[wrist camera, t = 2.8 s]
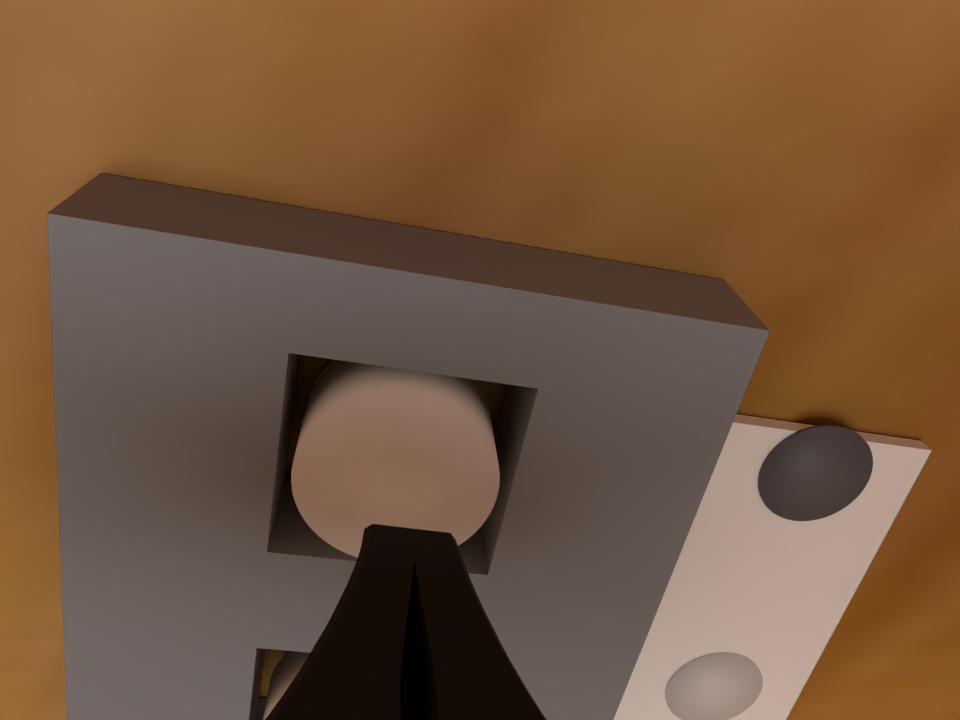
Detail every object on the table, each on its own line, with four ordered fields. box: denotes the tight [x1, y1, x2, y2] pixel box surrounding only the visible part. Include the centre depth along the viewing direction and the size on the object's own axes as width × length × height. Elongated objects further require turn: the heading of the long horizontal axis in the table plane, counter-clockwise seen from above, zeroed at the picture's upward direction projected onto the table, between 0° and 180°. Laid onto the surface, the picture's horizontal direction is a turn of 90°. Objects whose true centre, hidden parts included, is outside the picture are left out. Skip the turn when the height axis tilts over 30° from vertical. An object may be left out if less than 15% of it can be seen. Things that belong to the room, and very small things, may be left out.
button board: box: [47, 173, 770, 720], centre depth 19 cm, size 12×22×2 cm, turn 168°
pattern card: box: [614, 414, 932, 720], centre depth 21 cm, size 5×17×1 cm, turn 168°
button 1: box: [291, 360, 500, 558], centre depth 16 cm, size 4×4×2 cm
